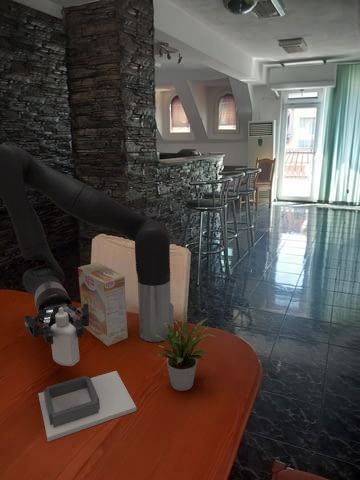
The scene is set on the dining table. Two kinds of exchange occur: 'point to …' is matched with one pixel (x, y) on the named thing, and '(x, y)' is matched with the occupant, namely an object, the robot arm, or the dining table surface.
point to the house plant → (182, 355)
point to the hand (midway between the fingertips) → (65, 336)
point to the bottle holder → (83, 403)
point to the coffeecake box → (104, 302)
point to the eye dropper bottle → (64, 340)
